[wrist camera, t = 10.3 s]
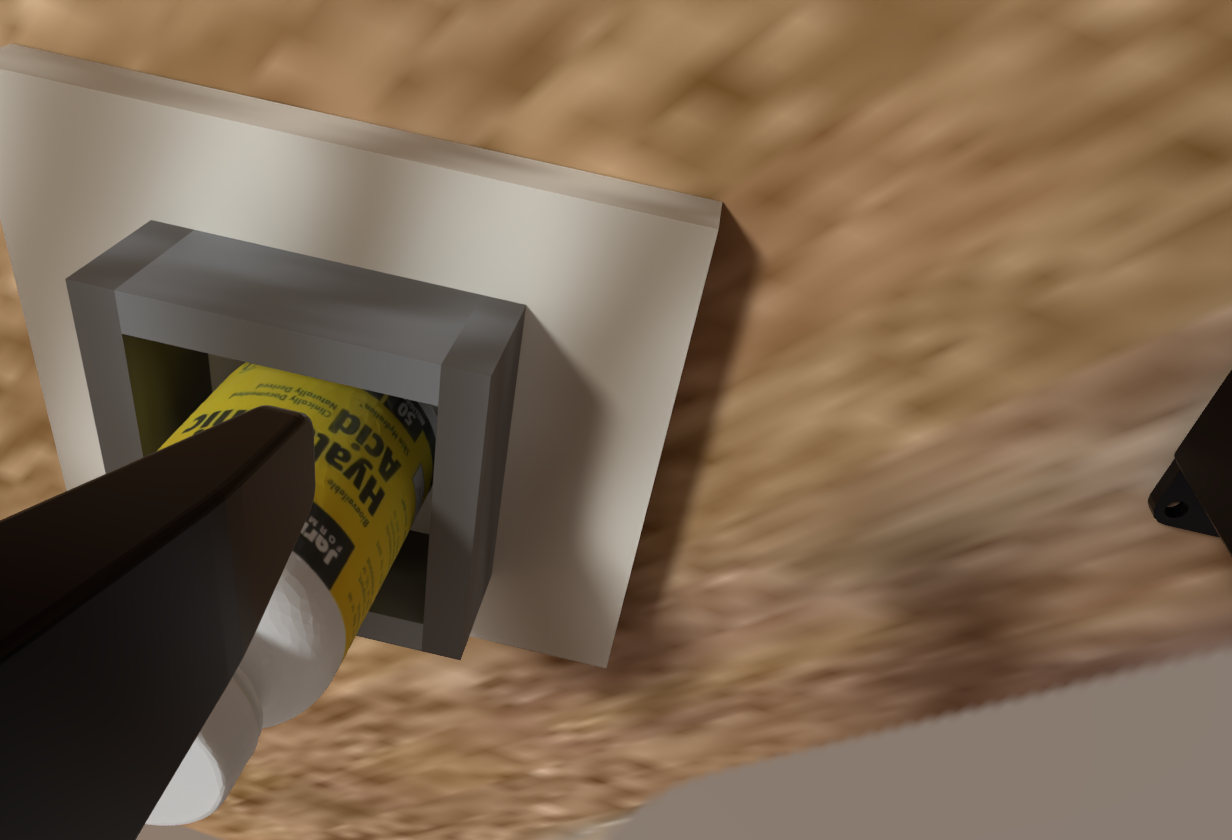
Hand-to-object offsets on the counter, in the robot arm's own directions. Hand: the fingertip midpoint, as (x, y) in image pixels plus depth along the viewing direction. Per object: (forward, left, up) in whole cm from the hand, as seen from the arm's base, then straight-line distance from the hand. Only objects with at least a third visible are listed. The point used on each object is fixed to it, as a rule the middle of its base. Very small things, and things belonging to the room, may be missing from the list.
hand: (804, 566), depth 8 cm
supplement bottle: (+9, +9, -12) cm, 17 cm away
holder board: (+9, +9, -13) cm, 18 cm away
